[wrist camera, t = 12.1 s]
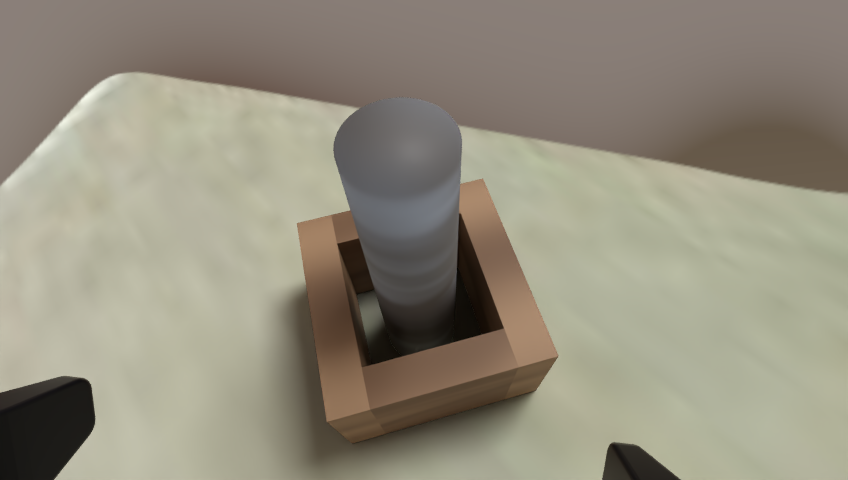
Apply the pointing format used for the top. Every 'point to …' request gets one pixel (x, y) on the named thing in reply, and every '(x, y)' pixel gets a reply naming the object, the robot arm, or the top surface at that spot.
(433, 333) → the slate dowel
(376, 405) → the walnut square holder
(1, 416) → the robot arm
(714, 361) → the top surface
